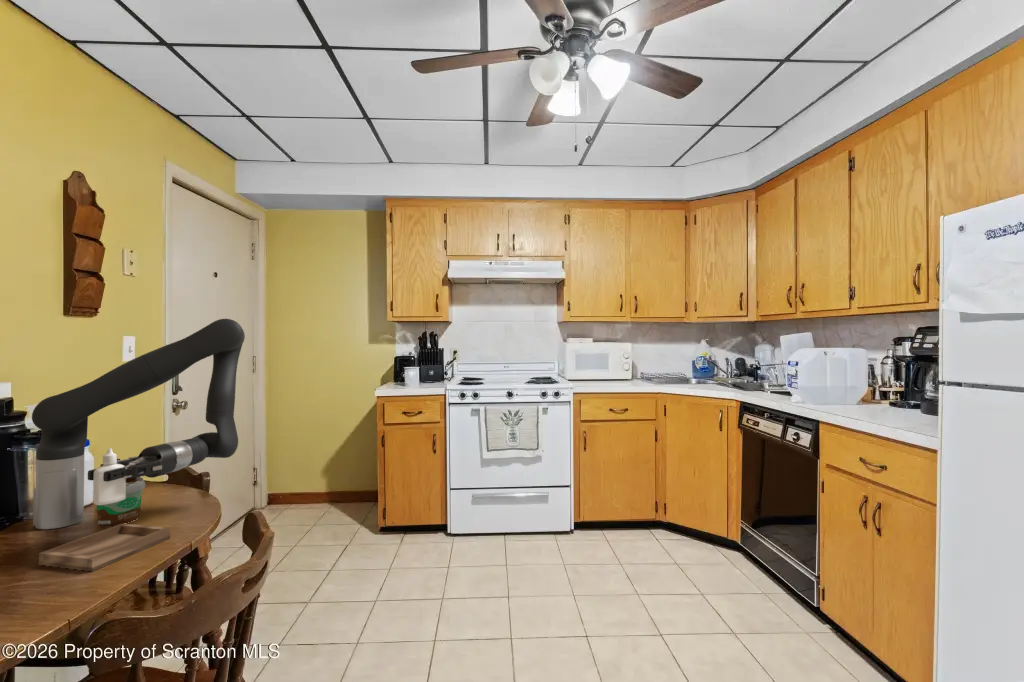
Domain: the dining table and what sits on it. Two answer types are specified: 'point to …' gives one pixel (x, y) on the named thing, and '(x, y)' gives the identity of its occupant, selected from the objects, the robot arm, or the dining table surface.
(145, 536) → the walnut tray
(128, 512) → the food container
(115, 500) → the eye dropper bottle
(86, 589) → the dining table surface
